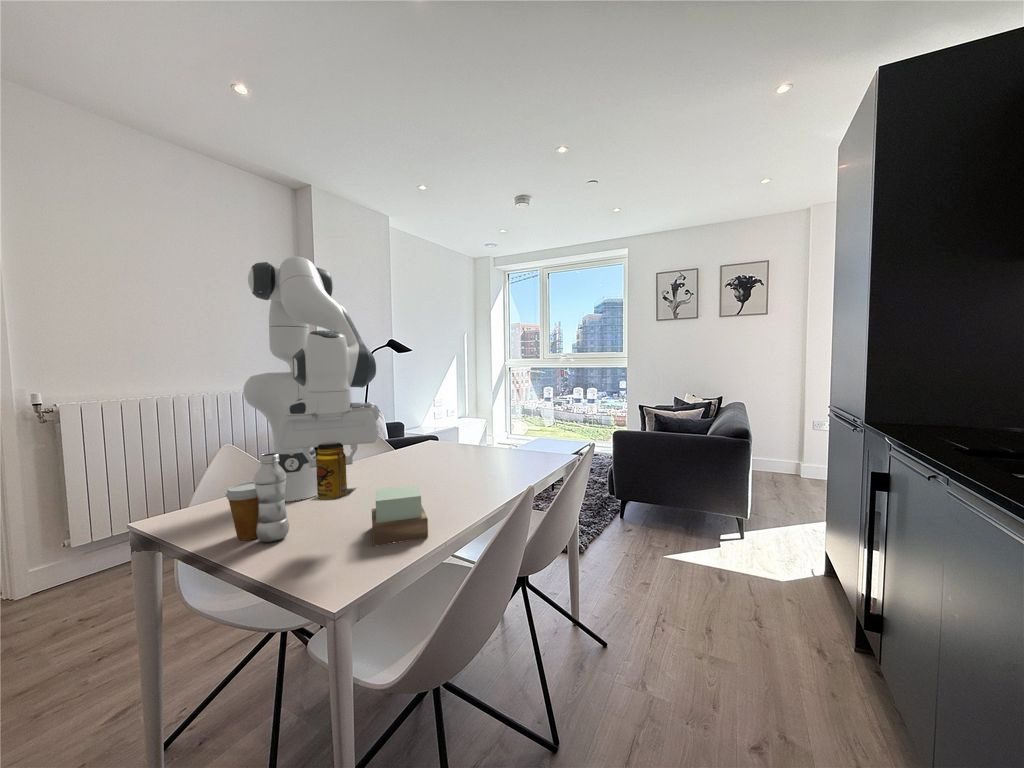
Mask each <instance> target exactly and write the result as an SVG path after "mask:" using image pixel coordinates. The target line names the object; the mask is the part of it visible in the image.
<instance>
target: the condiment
mask: <svg viewBox="0 0 1024 768" xmlns="http://www.w3.org/2000/svg"><path fill="white" fill-rule="evenodd" d="M344 450H345V449H344V445H342V444H341V443H337V444H325V445H322V444H321V445H318V447H317V451H316V452H317V453H316V455H317V456H316V470H317V493H318V495H316V496H313V497H312V499H310V501H312V502H313V501H320V502H321V501H322V502H323V501H324V502H326V501H327V502H328V501H340V500H341V501H344V500H346V498H348V497H349V496H350V495H351V494H352V493H353V492H355V491H356V489H358V487H351V488H350V487H348V483H347V481H348V480H347V465H346V456H347V455H346V453H345V452H344Z"/></svg>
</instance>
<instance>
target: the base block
mask: <svg viewBox="0 0 1024 768" xmlns="http://www.w3.org/2000/svg"><path fill="white" fill-rule="evenodd" d="M421 511H422V517H419V518H412V519H404V520H396V521H389V522H381V523H376V507H375V508H371V527H372V529H371V530H372V542H373V543H372V545H373V547H378V546H377V545H379V546H384V545H383V544H386V545H389V544H388V543H392V544H394V543H393V542H398V543H400V542H399V541H404V542H407V541H406V540H411V541H413V540H412V539H417V540H420V539H419V538H423V539H428V538H429V525H428V524H429V522H428V519H429V518H428V516H427V514H426V512H425V511H426V510H425V509H424V507H423V505H422V503H421ZM427 537H428V538H427Z"/></svg>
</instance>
